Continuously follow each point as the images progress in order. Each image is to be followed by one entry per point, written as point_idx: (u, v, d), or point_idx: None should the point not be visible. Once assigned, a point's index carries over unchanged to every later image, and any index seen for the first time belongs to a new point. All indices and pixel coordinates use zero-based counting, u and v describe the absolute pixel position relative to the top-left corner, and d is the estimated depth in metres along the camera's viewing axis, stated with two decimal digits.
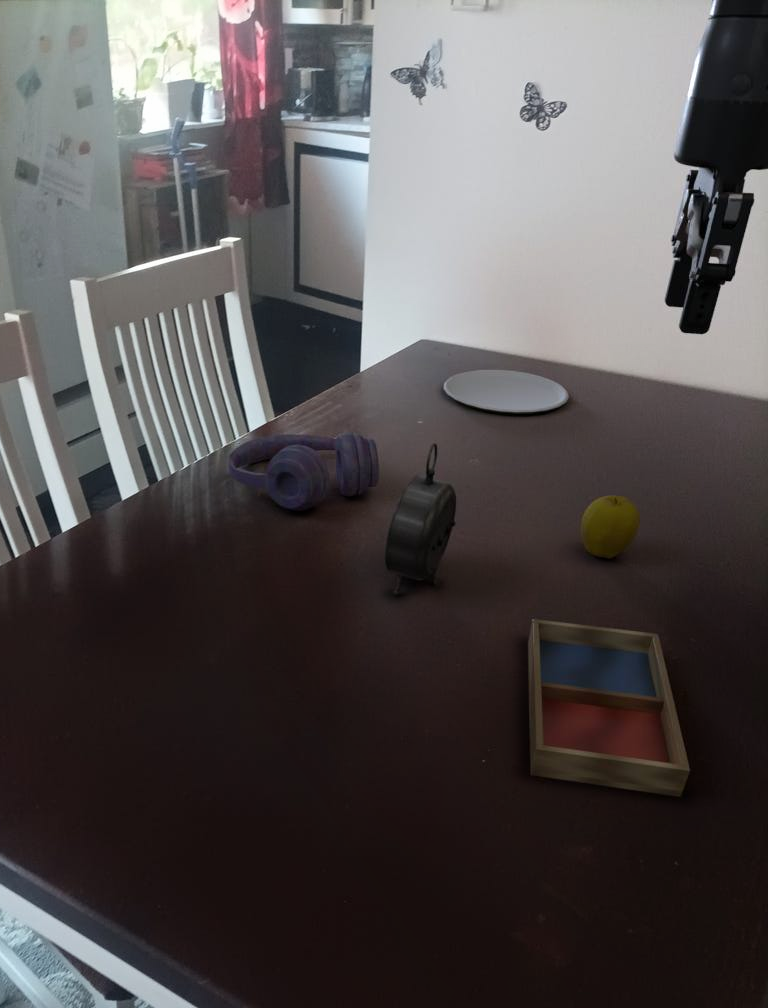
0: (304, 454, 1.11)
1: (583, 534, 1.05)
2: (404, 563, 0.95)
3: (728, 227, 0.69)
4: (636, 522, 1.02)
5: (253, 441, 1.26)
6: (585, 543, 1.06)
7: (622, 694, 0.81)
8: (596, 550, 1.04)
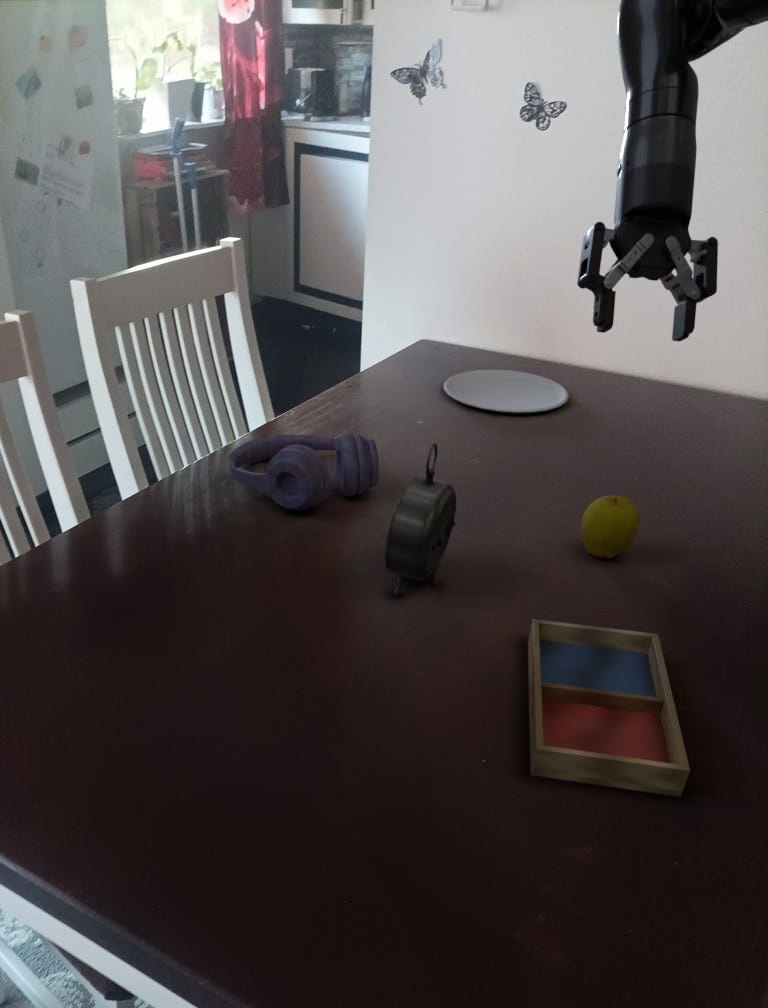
0: (304, 454, 1.11)
1: (583, 534, 1.05)
2: (404, 563, 0.95)
3: None
4: (636, 522, 1.02)
5: (253, 441, 1.26)
6: (585, 543, 1.06)
7: (622, 694, 0.81)
8: (596, 550, 1.04)
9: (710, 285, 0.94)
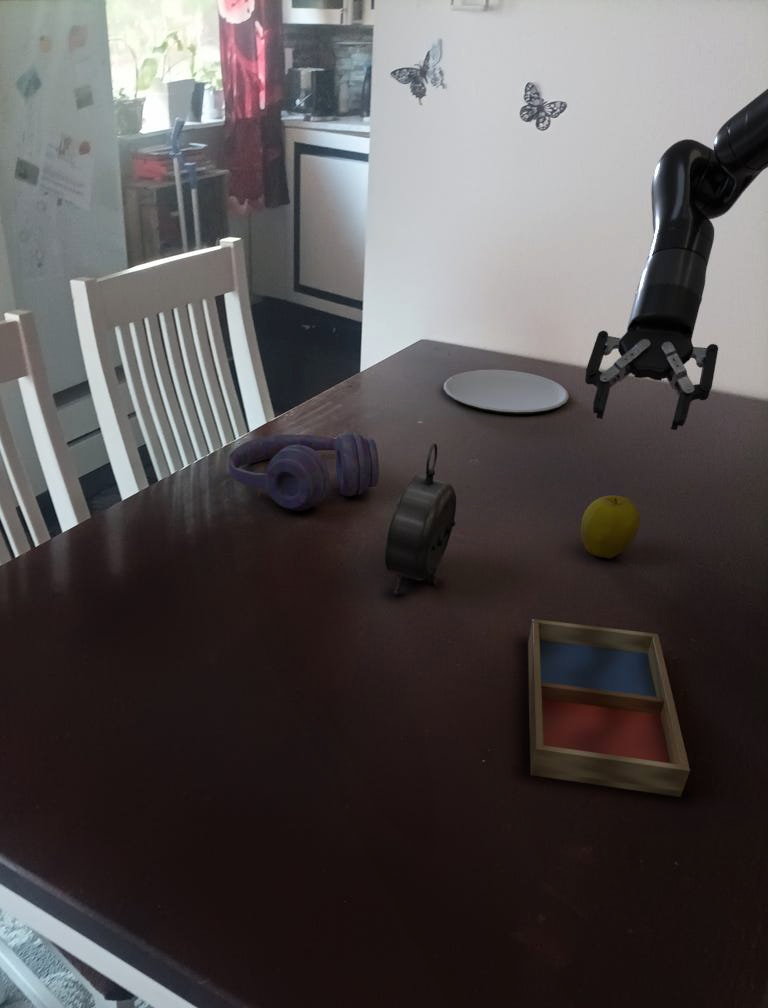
0: (304, 454, 1.11)
1: (583, 534, 1.05)
2: (404, 563, 0.95)
3: None
4: (636, 522, 1.02)
5: (253, 441, 1.26)
6: (585, 543, 1.06)
7: (622, 694, 0.81)
8: (596, 550, 1.04)
9: (706, 382, 1.05)
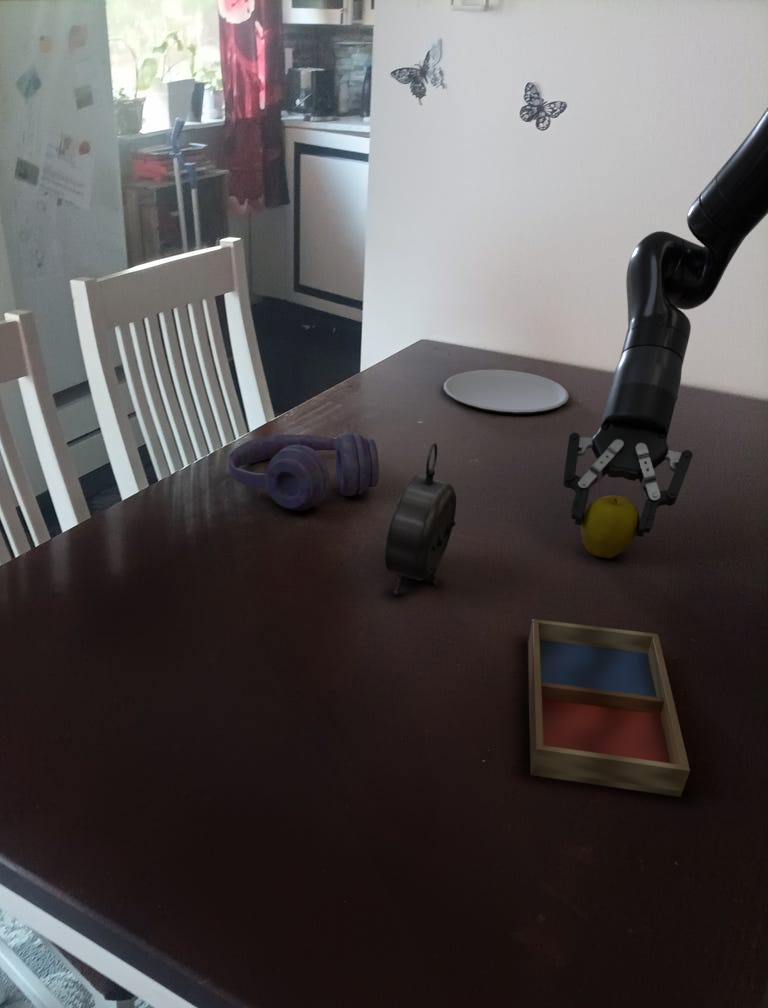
0: (304, 454, 1.11)
1: (583, 534, 1.05)
2: (404, 563, 0.95)
3: None
4: (636, 522, 1.02)
5: (253, 441, 1.26)
6: (585, 543, 1.06)
7: (622, 694, 0.81)
8: (596, 550, 1.04)
9: (673, 489, 1.01)
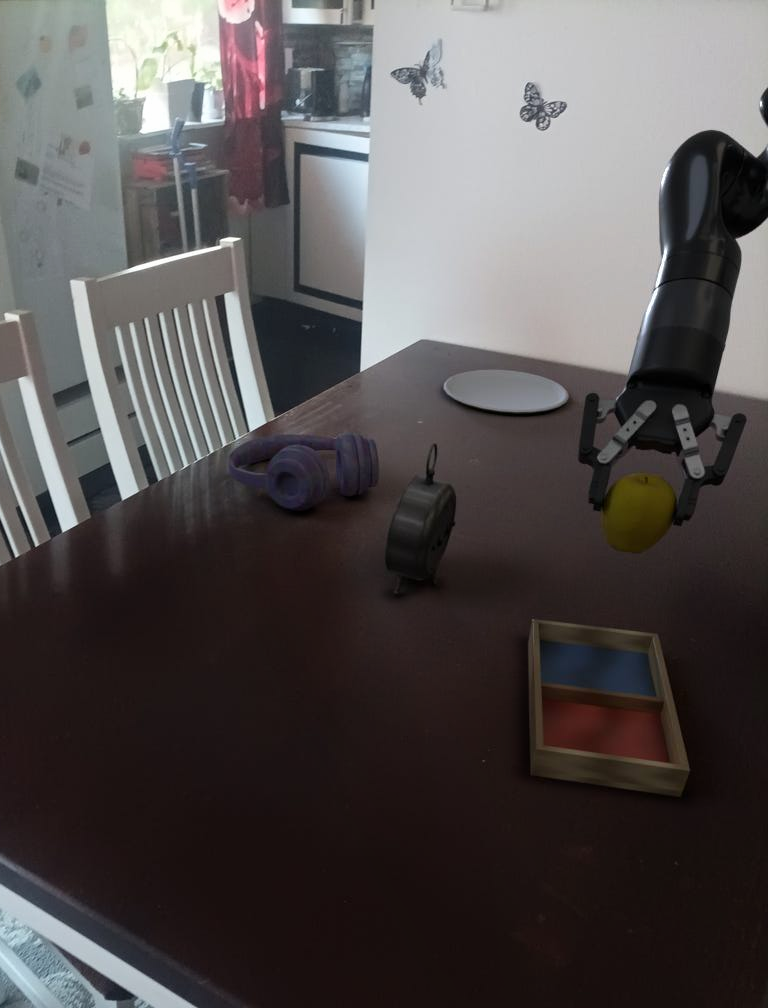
0: (304, 454, 1.11)
1: (603, 523, 0.82)
2: (404, 563, 0.95)
3: None
4: (673, 507, 0.79)
5: (253, 441, 1.26)
6: (606, 534, 0.82)
7: (622, 694, 0.81)
8: (621, 544, 0.81)
9: (721, 464, 0.78)
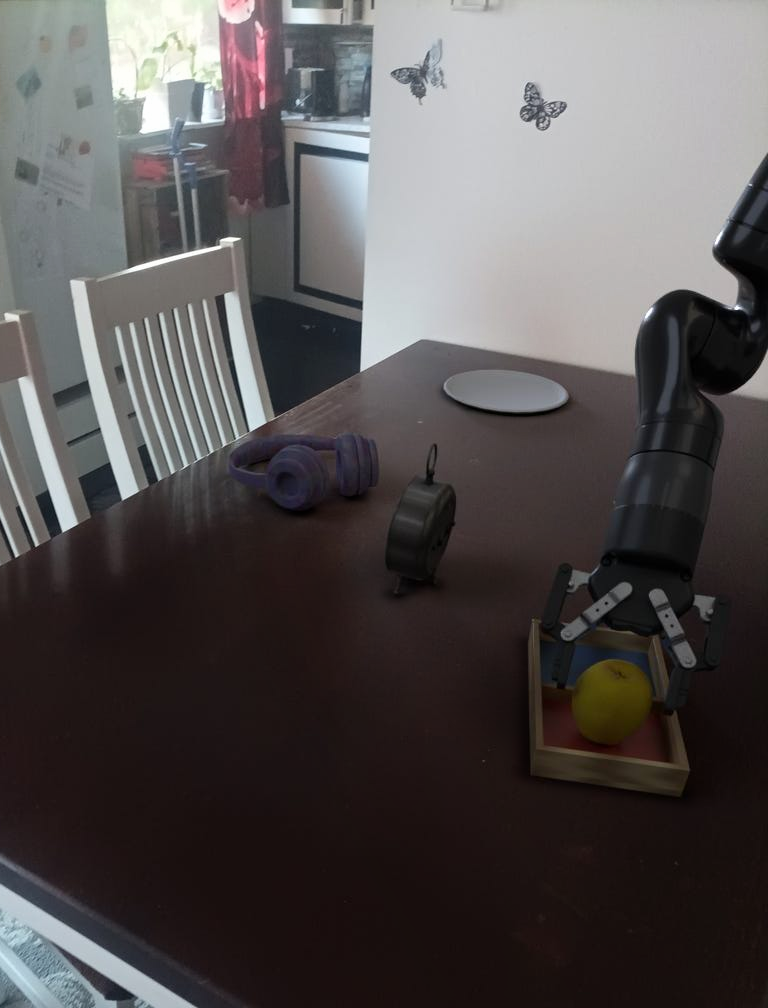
0: (304, 454, 1.11)
1: (575, 712, 0.76)
2: (404, 563, 0.95)
3: None
4: (648, 703, 0.73)
5: (253, 441, 1.26)
6: (577, 724, 0.77)
7: None
8: (593, 736, 0.76)
9: (713, 653, 0.72)
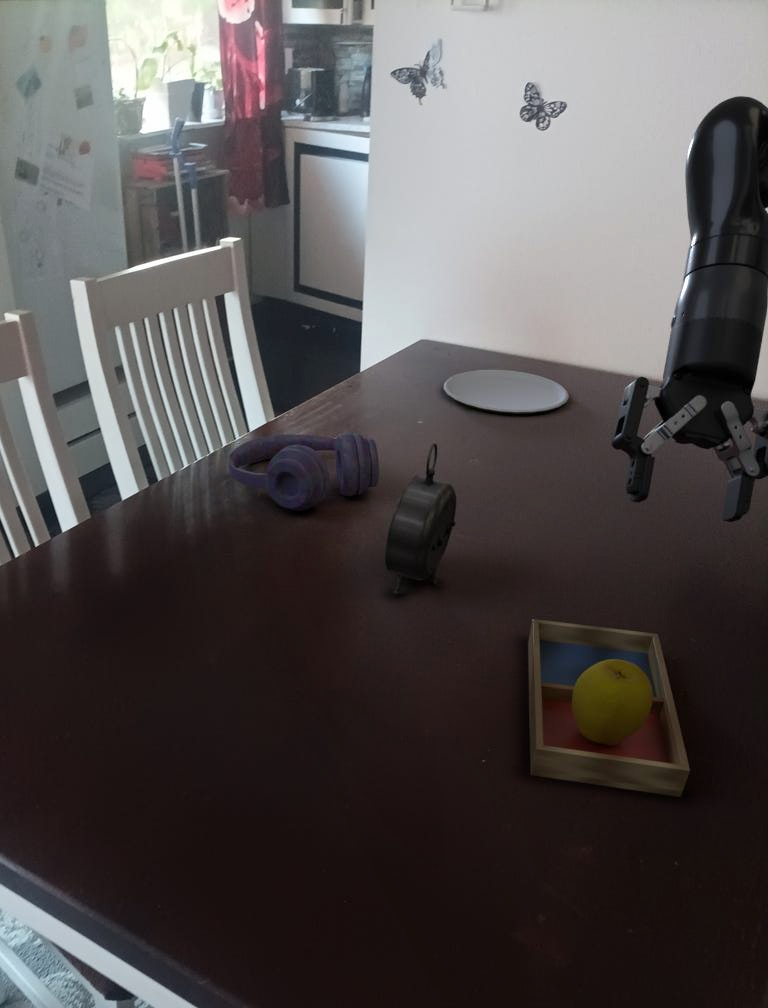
0: (304, 454, 1.11)
1: (575, 712, 0.76)
2: (404, 563, 0.95)
3: None
4: (648, 702, 0.73)
5: (253, 441, 1.26)
6: (577, 724, 0.77)
7: None
8: (593, 736, 0.76)
9: None
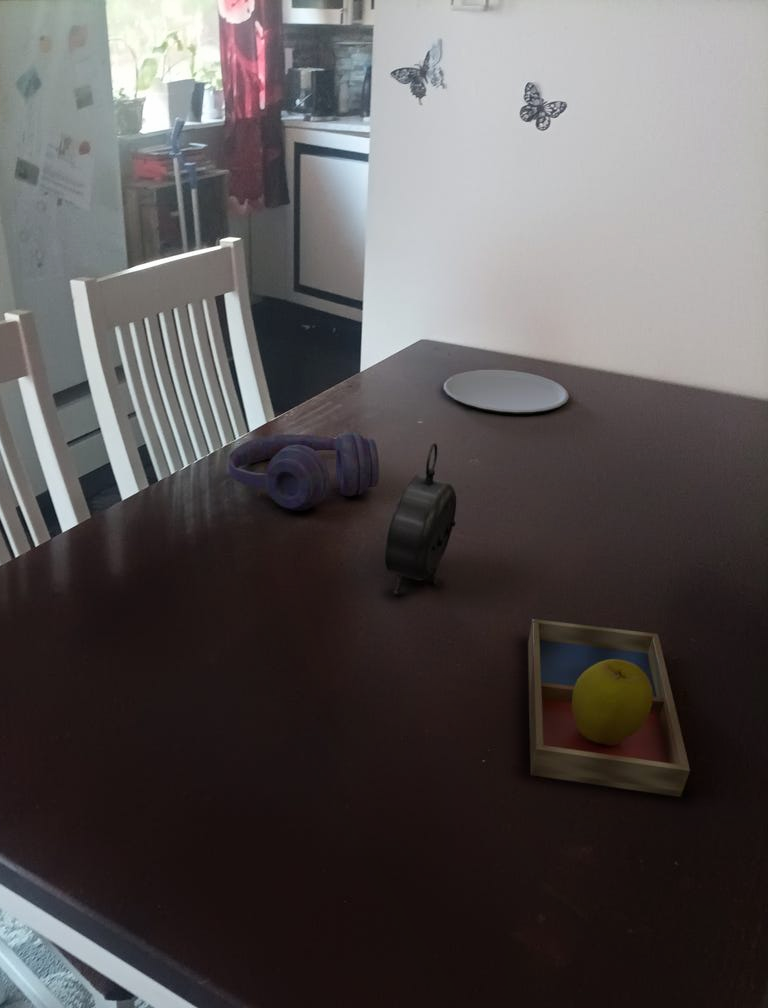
0: (304, 454, 1.11)
1: (575, 712, 0.76)
2: (404, 563, 0.95)
3: None
4: (648, 702, 0.73)
5: (253, 441, 1.26)
6: (577, 724, 0.77)
7: None
8: (593, 736, 0.76)
9: None
